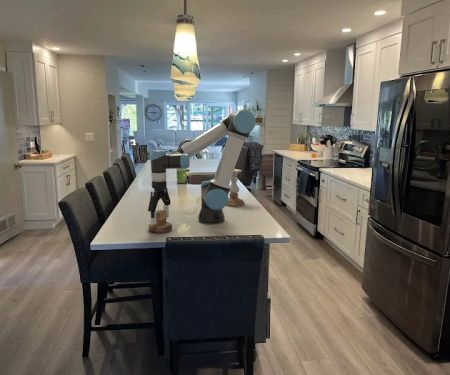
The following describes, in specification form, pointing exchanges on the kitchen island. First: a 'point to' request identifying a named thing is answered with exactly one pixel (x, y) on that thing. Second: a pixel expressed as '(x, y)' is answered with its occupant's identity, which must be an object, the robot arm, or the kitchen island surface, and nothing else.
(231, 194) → the candle holder
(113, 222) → the kitchen island surface
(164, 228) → the plinth
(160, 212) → the walnut block
